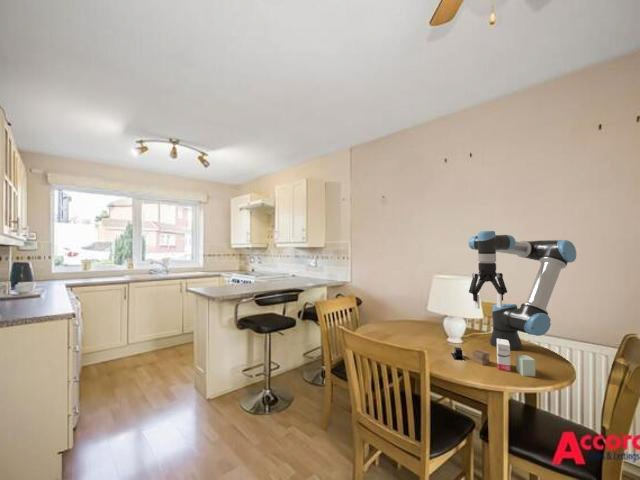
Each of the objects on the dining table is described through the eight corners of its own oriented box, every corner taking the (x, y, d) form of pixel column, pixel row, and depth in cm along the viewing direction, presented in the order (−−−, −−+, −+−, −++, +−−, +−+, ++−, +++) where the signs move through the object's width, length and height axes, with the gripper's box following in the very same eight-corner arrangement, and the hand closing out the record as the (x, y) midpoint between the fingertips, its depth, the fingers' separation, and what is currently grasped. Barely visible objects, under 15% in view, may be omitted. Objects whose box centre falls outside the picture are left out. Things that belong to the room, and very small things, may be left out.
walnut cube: (480, 359, 141) (479, 349, 141) (489, 363, 136) (489, 353, 136) (472, 361, 139) (472, 351, 139) (482, 365, 134) (481, 354, 135)
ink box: (511, 371, 127) (510, 345, 127) (498, 369, 130) (497, 343, 130) (509, 364, 135) (508, 339, 135) (496, 362, 137) (496, 338, 137)
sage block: (528, 371, 127) (528, 355, 128) (535, 376, 122) (535, 360, 123) (516, 370, 128) (516, 355, 128) (522, 375, 123) (522, 359, 123)
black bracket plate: (469, 363, 138) (469, 353, 138) (452, 362, 140) (452, 352, 140) (463, 353, 150) (462, 345, 150) (448, 352, 152) (447, 344, 152)
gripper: (504, 261, 144) (505, 305, 144) (460, 262, 143) (461, 306, 143) (515, 262, 137) (516, 308, 136) (468, 263, 136) (469, 310, 135)
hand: (488, 307), depth 139 cm, fingers open, 10 cm apart
